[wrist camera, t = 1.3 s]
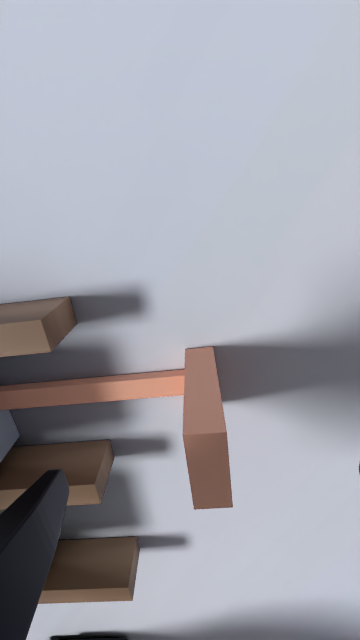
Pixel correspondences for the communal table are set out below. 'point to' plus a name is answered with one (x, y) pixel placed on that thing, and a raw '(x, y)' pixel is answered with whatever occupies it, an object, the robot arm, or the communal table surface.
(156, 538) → the communal table surface
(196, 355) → the wooden bar with block
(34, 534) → the robot arm
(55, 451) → the lane rack
